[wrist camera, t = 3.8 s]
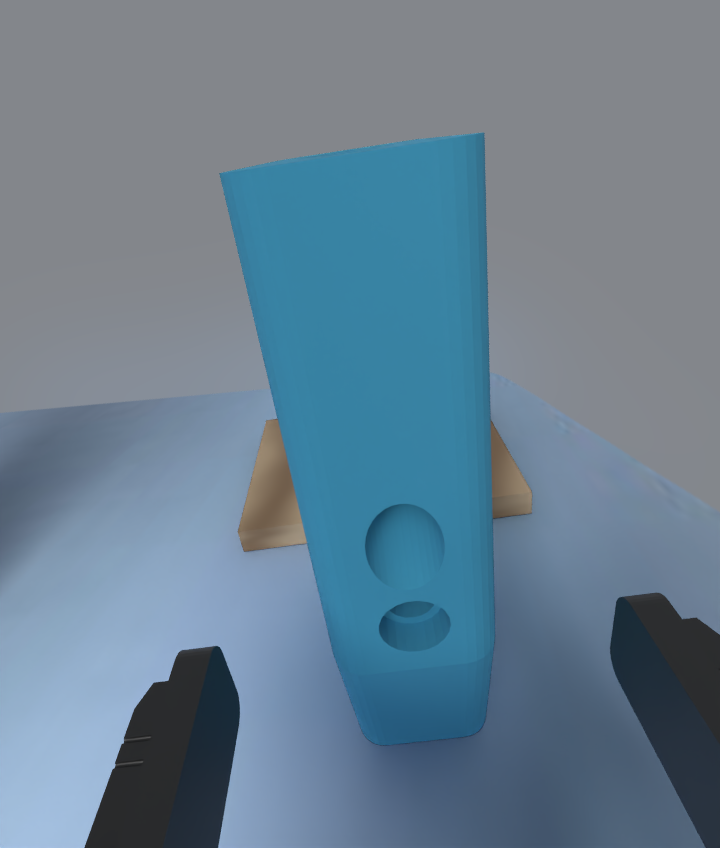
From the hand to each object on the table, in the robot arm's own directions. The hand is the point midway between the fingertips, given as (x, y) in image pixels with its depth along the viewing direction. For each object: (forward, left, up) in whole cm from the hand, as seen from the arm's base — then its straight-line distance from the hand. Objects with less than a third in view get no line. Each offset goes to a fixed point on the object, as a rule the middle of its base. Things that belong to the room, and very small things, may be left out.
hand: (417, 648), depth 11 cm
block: (0, +9, -11) cm, 14 cm away
